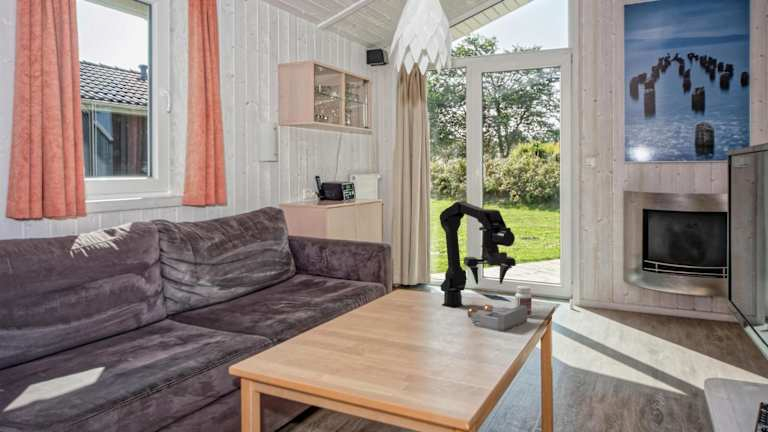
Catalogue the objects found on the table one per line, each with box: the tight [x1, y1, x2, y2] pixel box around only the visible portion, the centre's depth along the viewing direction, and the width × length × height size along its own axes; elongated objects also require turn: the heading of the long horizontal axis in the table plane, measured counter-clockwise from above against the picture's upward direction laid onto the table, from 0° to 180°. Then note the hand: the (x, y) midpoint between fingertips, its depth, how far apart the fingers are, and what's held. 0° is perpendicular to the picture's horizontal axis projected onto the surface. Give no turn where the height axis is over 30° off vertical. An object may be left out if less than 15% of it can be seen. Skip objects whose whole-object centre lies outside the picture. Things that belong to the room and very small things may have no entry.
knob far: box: [483, 304, 508, 312], centre depth 210 cm, size 8×5×4 cm, turn 49°
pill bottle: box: [514, 285, 533, 318], centre depth 216 cm, size 6×6×11 cm
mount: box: [473, 305, 528, 333], centre depth 204 cm, size 12×17×6 cm
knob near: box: [467, 307, 493, 322], centre depth 206 cm, size 8×5×4 cm, turn 49°
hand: (488, 283), depth 213 cm, fingers open, 9 cm apart
